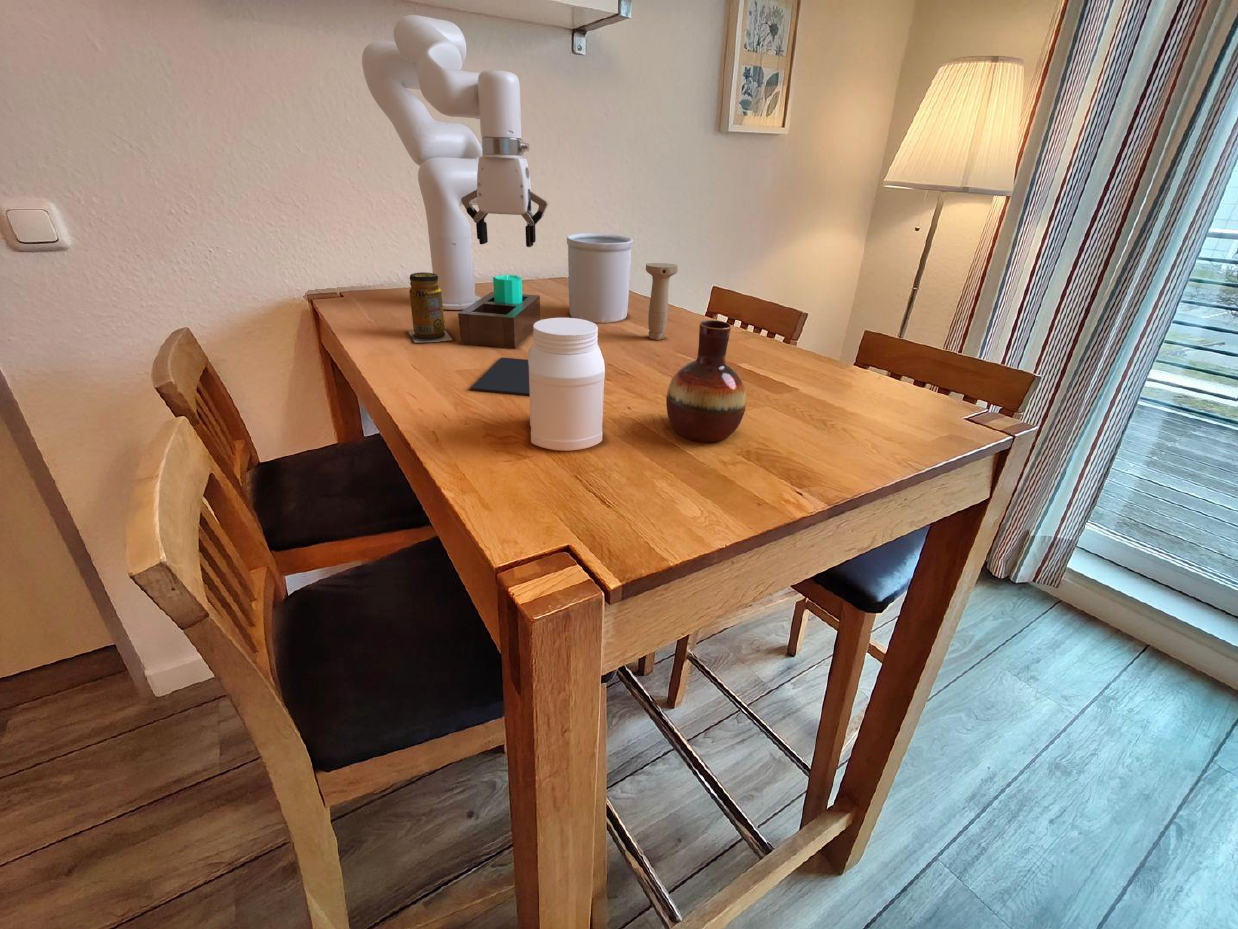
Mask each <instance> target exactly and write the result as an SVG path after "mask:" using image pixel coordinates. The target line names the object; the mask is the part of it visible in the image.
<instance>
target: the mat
mask: <svg viewBox="0 0 1238 929" xmlns="http://www.w3.org/2000/svg"><path fill="white" fill-rule="evenodd" d="M470 391H475V392H484V393H485V392H486V393H497V394H508V395H517V396H529V397H530V390H529V365H528V359H523V358H513V357H500V358H499V359H498V360H497V361H496V362H495V363H494V364H493V365H492V366H491V367H490V368H489V369H488V370H487V371H486V372H485V373H484V374H483V375H482V376H481V377H480V378H479V379H478V380H477V381H476V382H475V383H474V384H473V386H471V387H470Z"/></svg>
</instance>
